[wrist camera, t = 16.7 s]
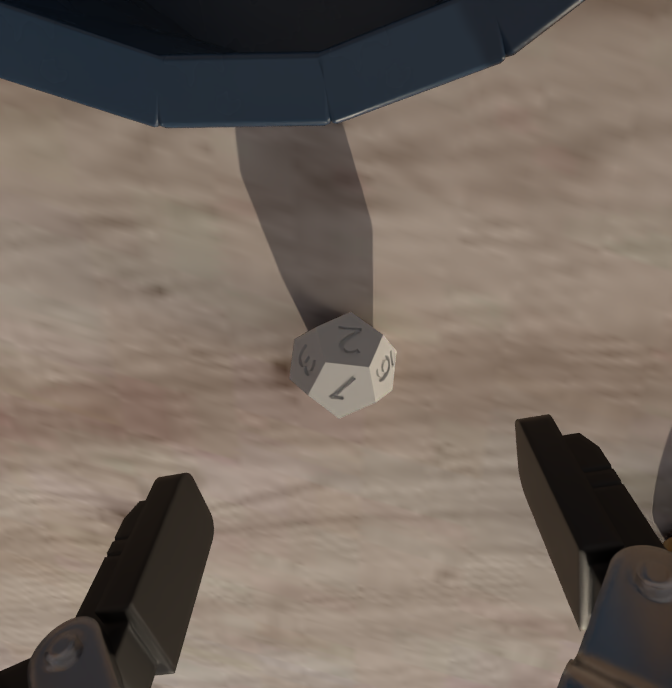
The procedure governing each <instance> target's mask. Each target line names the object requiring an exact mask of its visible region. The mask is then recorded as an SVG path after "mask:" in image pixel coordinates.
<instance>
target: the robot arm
mask: <svg viewBox="0 0 672 688" xmlns="http://www.w3.org/2000/svg"><path fill="white" fill-rule="evenodd" d="M515 430H516V444H517V457H518V469H519V475H520V480H521V484H522V488H523V491H524V494H525V497H526V499H527V502H528V504H529V507H530V509H531V512H532V514H533V516H534V519H535V521H536V524H537V526H538V529H539V531H540V534H541V536H542V539H543V541H544V544H545V546H546V549H547V551H548V554H549V556H550V558H551V561H552V563H553V566H554V568H555V571H556V573H557V576H558V578H559V581H560V583H561V586H562V588H563V591H564V593H565V595H566V598H567V600H568V603H569V605H570V608H571V610H572V613H573V615H574V618H575V620H576V623H577V625H578V628H579V630H580V631H586V632H585V634H584V637H583V640H582V643H581V646H580V648H579V651H578V654H577V656H576V657H575V659H574V660H573V659H571V660H570V661H569V662H568V663H567V665H566V667H565V669H564V671H563V674H562V676H561V679H560V682H559V684H558V687H557V688H672V552H670V551H668V550H667V549H666V548H665V547H664V545H663V544H662V543H661V541H660V540H659V538H658V537H657V535H656V534H655V532H654V531H653V529H652V528H651V526H650V525H649V523H648V521H647V520H646V518H645V517H644V515H643V514H642V512H641V511H640V509H639V508H638V506H637V504H636V503H635V501H634V500H633V498H632V497H631V495H630V494H629V492H628V491H627V489H626V487H625V486H624V484H622V483H621V480H620V478H619V477H618V475H617V474H616V472H615V471H614V469H612V468H611V464H610V463H609V461H608V460H607V458H606V457H605V455H604V454H603V452H602V450H601V449H600V447H599V446H597V445H596V444H594V443H593V442H592V441H590V440H589V439H587V438H586V437H584V436H583V435H582V434H580V433H575V434H569V435H563V436H562V434H561V432H560V430H559V429H558V427H557V425H556V423H555V422H554V420H553V418H552V417H551V416H550V415H549V414H547V415H541V416H535V417H529V418H523V419H517V420H516V421H515ZM213 535H214V525H213V519H212V515H211V513H210V511H209V509H208V507H207V505H206V503H205V501H204V499H203V497H202V495H201V493H200V491H199V489H198V487H197V485H196V483H195V481H194V479H193V477H192V476H191V475H190V474H189V473H182V474H176V475H170V476H164V477H159V478H157V479H156V480H155V482H154V483H153V486H152V488H151V490H150V492H149V494H148V496H147V499H146V500H145V501H139V503H138V504H137V505H136V506H135V507H134V508H133V509H132V510H131V512H130V513H129V514H128V515H127V516H126V517H125V518H124V520H123V522H122V524H121V526H120V528H119V530H118V532H117V534H116V536H115V541H114V542H112V544H111V546H110V548H109V550H108V552H107V557H105V558H104V560H103V563H102V565H101V567H100V569H99V571H98V573H97V575H96V577H95V579H94V581H93V583H92V585H91V587H90V589H89V591H88V593H87V595H86V597H85V599H84V601H83V603H82V605H81V607H80V609H79V611H78V613H77V615H76V617H75V618H73V619H70V620H68V621H66V622H64V623H62V624H61V625H59V626H58V627H56V628H55V629H54V630H52V631H51V632H50V633H49V634H48V635H47V636H46V637H45V638H44V639H43V640H42V641H41V643H40V644H39V645H38V646H37V648H36V650H35V651H34V653H33V655H32V657H31V658H29V659H27V660H25V661H22V662H20V663H18V664H16V665H13V666H11V667H9V668H7V669H4V670H2V671H0V688H151V685H152V682H153V679H154V676H155V675H164V674H173V673H175V670H176V667H177V663H178V660H179V656H180V653H181V649H182V646H183V642H184V639H185V635H186V632H187V628H188V625H189V621H190V618H191V614H192V611H193V607H194V604H195V600H196V597H197V593H198V590H199V586H200V583H201V579H202V576H203V572H204V568H205V565H206V561H207V558H208V554H209V551H210V547H211V544H212V540H213Z"/></svg>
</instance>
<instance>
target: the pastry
mask: <svg viewBox="0 0 672 688" xmlns="http://www.w3.org/2000/svg"><path fill="white" fill-rule="evenodd" d="M663 545H664V547H665V548H666V549H667V550H668V551H670V552H672V537H671V538H669V539H667V540H666V541H665V542H664V543H663Z"/></svg>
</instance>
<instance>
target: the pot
mask: <svg viewBox="0 0 672 688" xmlns="http://www.w3.org/2000/svg"><path fill="white" fill-rule="evenodd" d="M584 1H585V0H0V78H1V79H5V80H8V81H11V82H14V83H17V84H20V85H23V86H27V87H30V88H33V89H36V90H39V91H42V92H45V93H49V94H52V95H55V96H58V97H61V98H64V99H67V100H71V101H74V102H77V103H80V104H83V105H86V106H89V107H92V108H96V109H99V110H102V111H105V112H108V113H111V114H114V115H118V116H121V117H124V118H127V119H130V120H133V121H136V122H140V123H143V124H146V125H149V126H152V127H158V126H162V127H165V128H205V127H269V126H325V125H327V124H330V122H331V121H332V123H336V124H338V123H341V122H343V121H346V120H349V119H351V118H354V117H357V116H359V115H362V114H365V113H367V112H370V111H373V110H376V109H378V108H381V107H384V106H386V105H389V104H392V103H394V102H397V101H400V100H403V99H405V98H408V97H411V96H413V95H416V94H419V93H421V92H424V91H427V90H430V89H432V88H435V87H438V86H440V85H443V84H446V83H448V82H451V81H454V80H456V79H459V78H462V77H465V76H467V75H470V74H473V73H475V72H478V71H481V70H483V69H486V68H489V67H492V66H494V65H497V64H500V63H501V62H503V61H504V60H505V57H509V56H512V55H514V54H516V53H517V52H518V51H520V50H521V49H522V48H524V47H525V46H526V45H528V44H529V43H530V42H531V41H533V40H534V39H535V38H537V37H538V36H539V35H541V34H542V33H543V32H545V31H546V30H547V29H548V28H550V27H551V26H552V25H554V24H555V23H556V22H558V21H559V20H560V19H562V18H563V17H564V16H565V15H567V14H568V13H569V12H571V11H572V10H573V9H575V8H576V7H577V6H579V5H580V4H581V3H582V2H584Z"/></svg>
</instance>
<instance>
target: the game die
mask: <svg viewBox="0 0 672 688" xmlns="http://www.w3.org/2000/svg"><path fill="white" fill-rule="evenodd" d="M395 361H396V350H395V349H394V348H393V346H392V345H391V344H390V343H389V341H388V340H387V339H386V338H385V337H384V335H383V334H381V333H380V332H378V331H377V330H376V329H374V328H373V327H371V326H370V325H369V324H367V323H366V322H364V321H363V320H362V319H360V318H359V317H357V316H356V315H355V314H353V313H352V312H349V313H347V314H344V315H342V316H340V317H338V318H335V319H333V320H331V321H328V322H326V323H324V324H322V325H319V326H317V327H315V328H313V329H312V330H310V331H308V332H306V333H305V334H303V335H301V336H299V337H298V338H296V339H294V345H293V354H292V362H291V371H290V380H291V381H292V382H294V383H295V384H296V385H297V386H298V387H299V388H300V389H301V390H303V391H304V392H305V393H306V394H307V395H308V396H310V397H311V398H312V399H314V400H315V401H316V402H318V403H319V404H320V405H321V406H323V407H324V408H325V409H327V410H328V411H329V412H331V413H332V414H333V415H335V416H336V417H337V418H342V417H344V416H346V415H349V414H351V413H353V412H355V411H358V410H360V409H362V408H365V407H367V406H369V405H372V404H374V403H376V402H377V401H379V400H380V399H381V398H383V397H384V396H385V395H387V394H388V393H389V392H391V391H392V389H393V379H394V370H395Z"/></svg>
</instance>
